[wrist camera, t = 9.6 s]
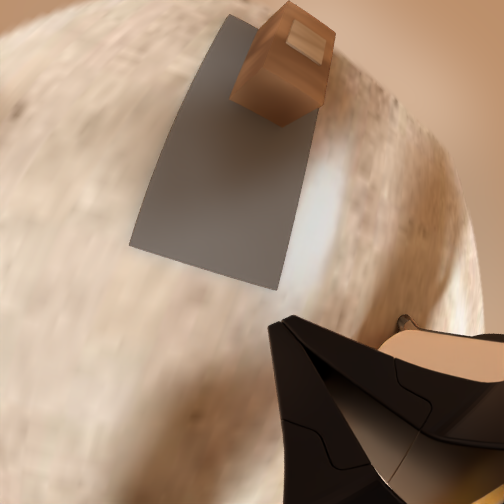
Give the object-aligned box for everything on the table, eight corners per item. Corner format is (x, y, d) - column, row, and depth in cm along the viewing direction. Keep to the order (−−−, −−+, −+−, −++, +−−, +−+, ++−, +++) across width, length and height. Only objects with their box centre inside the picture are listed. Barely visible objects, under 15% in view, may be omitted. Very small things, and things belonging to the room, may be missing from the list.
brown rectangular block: (327, 105, 17) (339, 32, 18) (264, 65, 15) (290, -3, 16) (284, 129, 21) (303, 57, 23) (228, 99, 19) (258, 29, 20)
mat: (272, 289, 21) (276, 290, 21) (128, 245, 17) (129, 245, 16) (322, 74, 24) (325, 72, 24) (226, 17, 20) (229, 14, 19)
